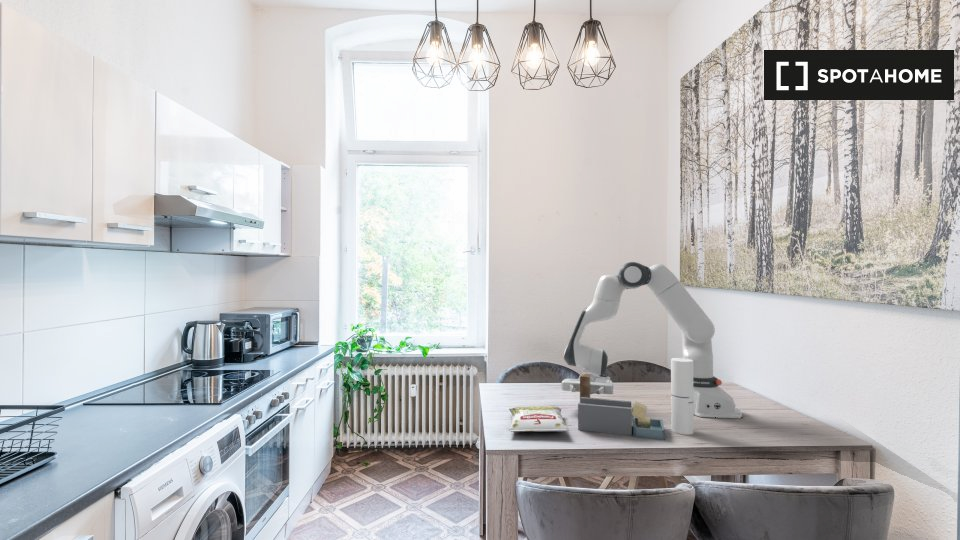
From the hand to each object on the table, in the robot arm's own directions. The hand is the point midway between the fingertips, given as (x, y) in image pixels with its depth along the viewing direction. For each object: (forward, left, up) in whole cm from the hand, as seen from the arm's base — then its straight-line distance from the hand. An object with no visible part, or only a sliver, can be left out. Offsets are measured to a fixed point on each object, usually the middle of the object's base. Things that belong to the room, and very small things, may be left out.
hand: (585, 391), depth 172 cm
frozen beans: (+16, +16, -11) cm, 25 cm away
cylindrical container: (-34, +5, -10) cm, 35 cm away
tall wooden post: (0, -1, -10) cm, 10 cm away
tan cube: (-19, +10, -5) cm, 22 cm away
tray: (-22, +10, -10) cm, 26 cm away
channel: (-8, +10, -10) cm, 16 cm away
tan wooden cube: (-19, +10, -7) cm, 22 cm away
